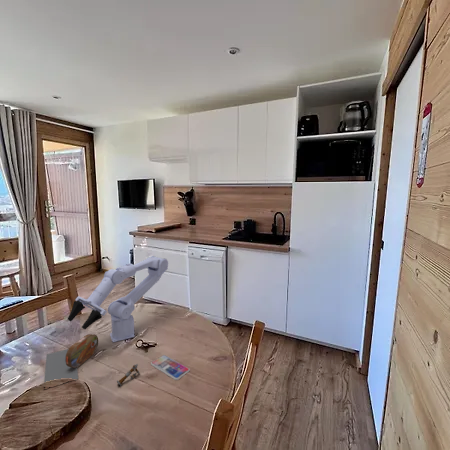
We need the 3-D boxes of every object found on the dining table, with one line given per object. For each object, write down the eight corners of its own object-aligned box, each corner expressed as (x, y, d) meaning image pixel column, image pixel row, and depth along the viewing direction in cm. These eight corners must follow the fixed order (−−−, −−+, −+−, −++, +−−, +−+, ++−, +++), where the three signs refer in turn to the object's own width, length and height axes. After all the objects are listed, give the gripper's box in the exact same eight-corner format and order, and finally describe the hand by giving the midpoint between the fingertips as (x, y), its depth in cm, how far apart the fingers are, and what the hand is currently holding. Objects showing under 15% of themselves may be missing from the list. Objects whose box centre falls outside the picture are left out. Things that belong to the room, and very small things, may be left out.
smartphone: (164, 354, 106) (191, 368, 97) (164, 356, 106) (191, 371, 97) (149, 362, 100) (176, 379, 91) (149, 365, 100) (176, 382, 91)
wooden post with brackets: (142, 371, 94) (138, 363, 93) (124, 391, 89) (118, 383, 87) (139, 369, 96) (135, 361, 94) (121, 388, 90) (116, 380, 88)
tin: (71, 373, 94) (71, 350, 93) (63, 371, 94) (63, 349, 93) (99, 350, 108) (99, 330, 108) (92, 348, 109) (92, 329, 108)
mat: (75, 347, 110) (75, 347, 109) (78, 379, 91) (78, 378, 91) (46, 355, 104) (46, 354, 104) (43, 390, 86) (43, 389, 86)
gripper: (82, 283, 108) (57, 313, 100) (109, 297, 104) (85, 329, 96) (90, 290, 113) (66, 319, 106) (116, 304, 109) (93, 334, 102)
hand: (76, 324), depth 101 cm, fingers open, 7 cm apart
